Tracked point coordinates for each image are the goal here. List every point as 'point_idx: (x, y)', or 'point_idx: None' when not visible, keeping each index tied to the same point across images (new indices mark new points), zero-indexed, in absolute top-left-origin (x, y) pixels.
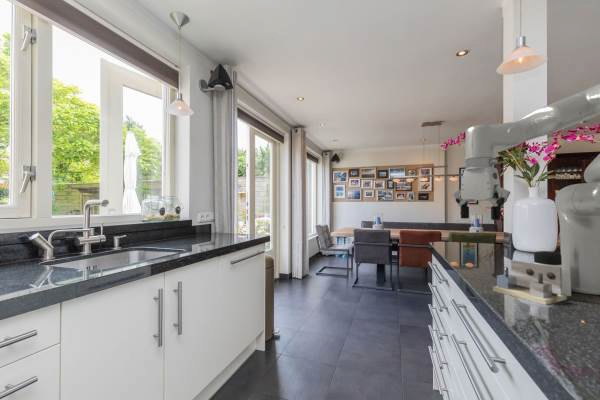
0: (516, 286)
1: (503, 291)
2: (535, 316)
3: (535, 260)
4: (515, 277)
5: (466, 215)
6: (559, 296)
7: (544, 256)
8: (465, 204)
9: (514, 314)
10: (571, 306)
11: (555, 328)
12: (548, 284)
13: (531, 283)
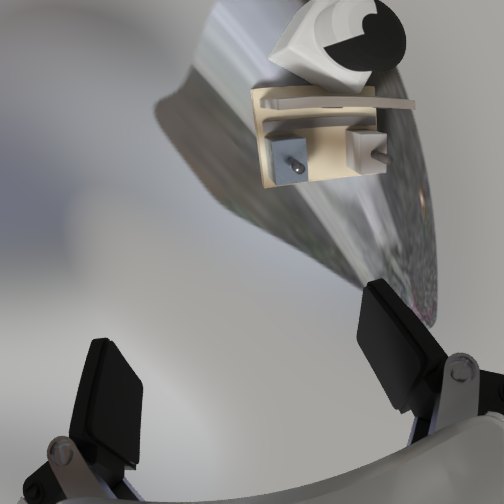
0: (295, 134)
1: None
2: (386, 245)
3: (341, 62)
4: (304, 141)
5: (122, 378)
6: (375, 115)
7: (382, 69)
8: (107, 471)
9: (368, 267)
10: (392, 132)
11: (410, 259)
12: (386, 148)
13: (364, 174)
